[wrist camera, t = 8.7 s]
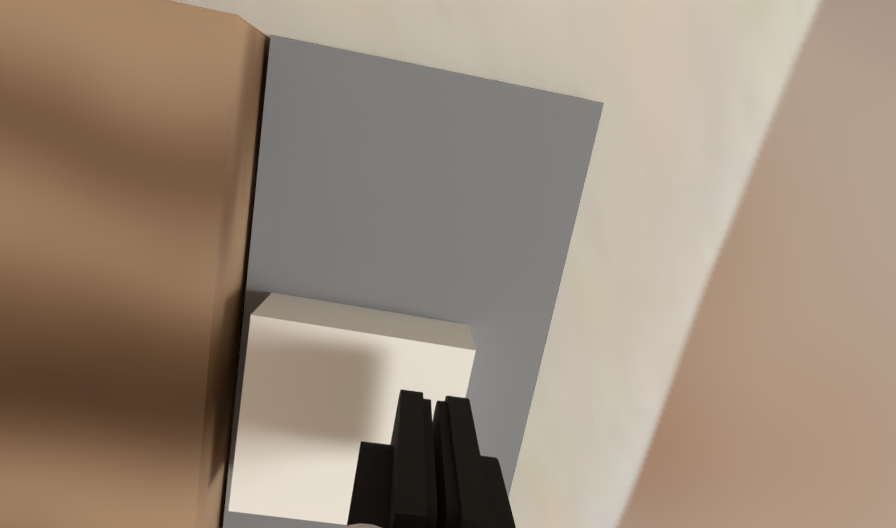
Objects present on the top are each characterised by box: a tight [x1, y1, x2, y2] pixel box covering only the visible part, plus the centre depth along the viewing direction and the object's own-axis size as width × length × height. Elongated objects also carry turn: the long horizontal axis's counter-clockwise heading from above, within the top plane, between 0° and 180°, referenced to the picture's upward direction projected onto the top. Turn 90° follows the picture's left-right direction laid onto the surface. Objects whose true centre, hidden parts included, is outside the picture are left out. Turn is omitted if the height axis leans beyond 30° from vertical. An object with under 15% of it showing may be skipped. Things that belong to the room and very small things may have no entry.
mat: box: [223, 35, 604, 528], centre depth 16 cm, size 19×9×1 cm, turn 170°
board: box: [0, 0, 268, 528], centre depth 14 cm, size 19×8×2 cm, turn 170°
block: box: [228, 292, 476, 525], centre depth 15 cm, size 6×6×2 cm
